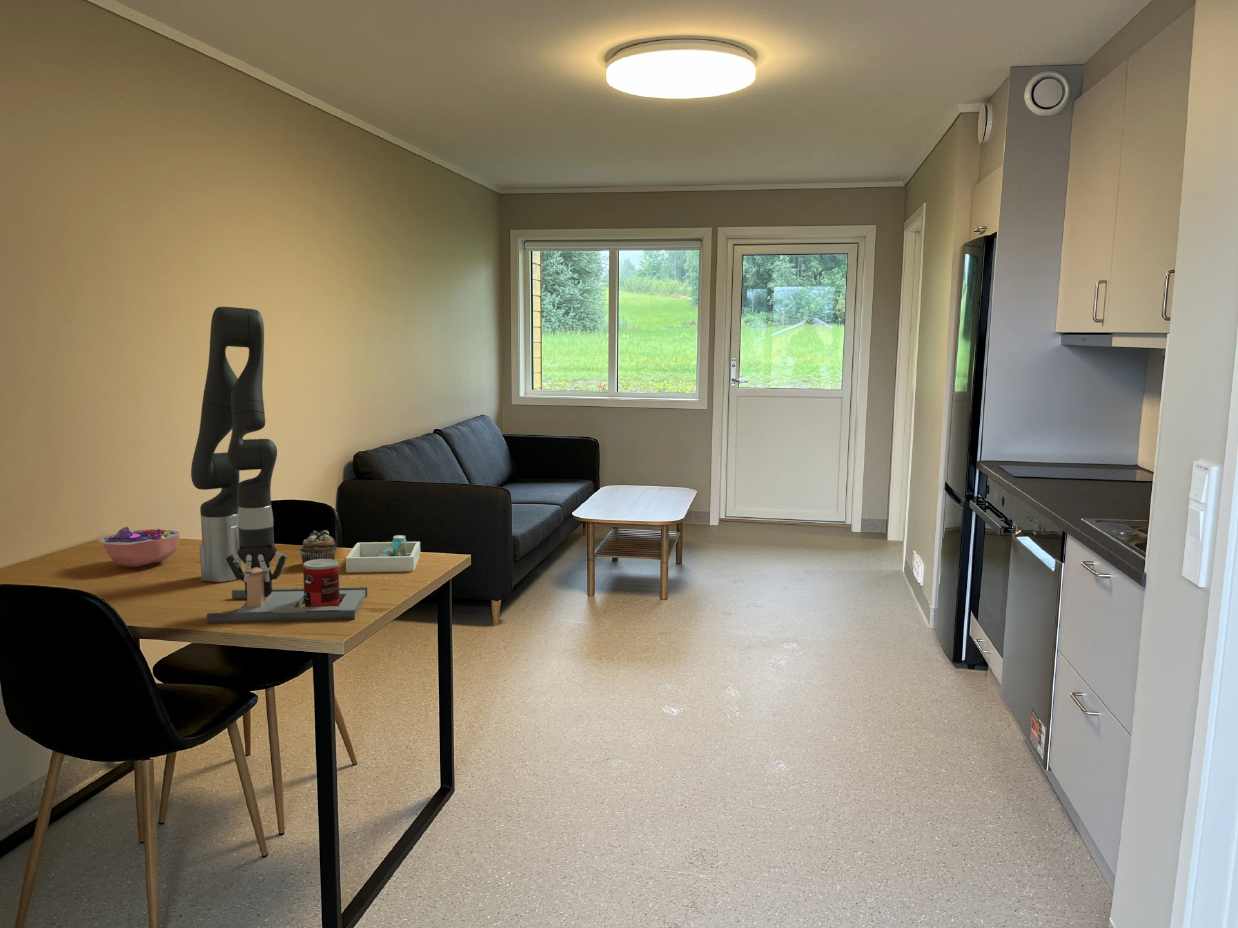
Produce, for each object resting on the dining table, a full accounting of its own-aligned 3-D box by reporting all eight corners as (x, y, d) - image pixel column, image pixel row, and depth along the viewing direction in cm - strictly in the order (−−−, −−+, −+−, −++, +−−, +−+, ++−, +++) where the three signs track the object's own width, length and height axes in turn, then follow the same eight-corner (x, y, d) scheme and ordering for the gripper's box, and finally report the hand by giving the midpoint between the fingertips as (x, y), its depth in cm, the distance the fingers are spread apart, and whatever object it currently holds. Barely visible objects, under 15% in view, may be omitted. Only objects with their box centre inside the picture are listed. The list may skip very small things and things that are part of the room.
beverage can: (409, 569, 243) (408, 541, 242) (365, 569, 243) (364, 541, 242) (417, 558, 255) (416, 531, 254) (375, 558, 255) (375, 531, 253)
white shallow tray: (346, 572, 238) (345, 558, 238) (357, 555, 256) (357, 542, 256) (413, 571, 241) (413, 557, 240) (420, 554, 258) (420, 541, 258)
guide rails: (207, 623, 196) (206, 614, 196) (233, 597, 214) (233, 589, 214) (354, 619, 200) (354, 610, 200) (367, 594, 218) (367, 587, 218)
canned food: (309, 602, 211) (307, 558, 210) (343, 602, 212) (341, 558, 211) (300, 612, 204) (298, 567, 202) (335, 612, 205) (334, 566, 203)
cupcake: (331, 559, 252) (330, 525, 250) (340, 567, 244) (339, 532, 242) (296, 563, 247) (295, 529, 245) (304, 571, 239) (303, 536, 237)
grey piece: (235, 618, 198) (234, 582, 197) (256, 597, 214) (254, 564, 212) (354, 615, 201) (353, 580, 200) (365, 595, 217) (364, 562, 216)
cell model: (188, 566, 242) (186, 526, 241) (105, 577, 231) (102, 535, 229) (176, 553, 256) (173, 515, 254) (97, 563, 244) (94, 524, 242)
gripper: (218, 528, 199) (222, 602, 201) (283, 527, 200) (286, 600, 203) (229, 521, 206) (232, 592, 209) (291, 520, 208) (294, 591, 210)
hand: (259, 596), depth 206 cm, fingers closed on grey piece, 3 cm apart
